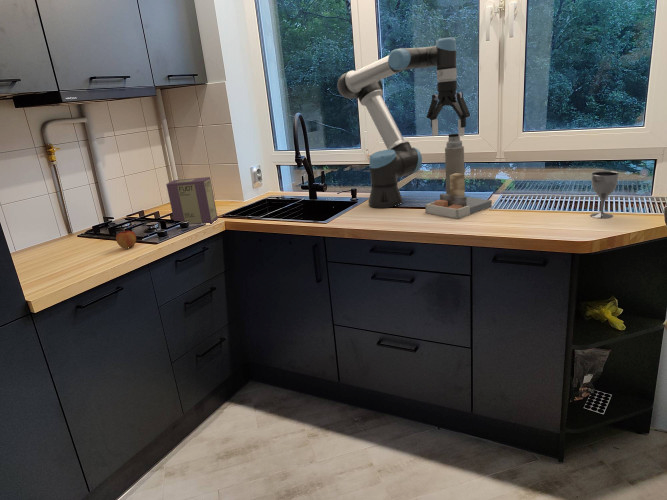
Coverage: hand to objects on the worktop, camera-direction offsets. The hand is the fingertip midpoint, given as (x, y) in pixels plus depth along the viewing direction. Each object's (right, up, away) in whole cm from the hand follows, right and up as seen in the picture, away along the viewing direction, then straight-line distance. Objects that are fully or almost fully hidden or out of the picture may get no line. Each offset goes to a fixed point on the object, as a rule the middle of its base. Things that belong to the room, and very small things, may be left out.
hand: (448, 135), depth 192 cm
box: (-109, -35, +22) cm, 116 cm away
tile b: (+1, -32, -7) cm, 33 cm away
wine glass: (+47, -35, -27) cm, 65 cm away
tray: (-1, -32, -4) cm, 32 cm away
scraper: (+3, -28, -2) cm, 28 cm away
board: (+7, -29, +1) cm, 30 cm away
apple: (-128, -46, -4) cm, 136 cm away
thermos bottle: (+8, -23, +20) cm, 31 cm away
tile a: (-2, -29, -2) cm, 29 cm away
